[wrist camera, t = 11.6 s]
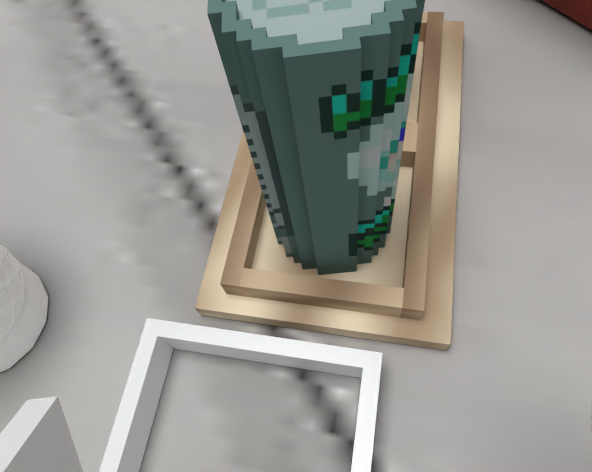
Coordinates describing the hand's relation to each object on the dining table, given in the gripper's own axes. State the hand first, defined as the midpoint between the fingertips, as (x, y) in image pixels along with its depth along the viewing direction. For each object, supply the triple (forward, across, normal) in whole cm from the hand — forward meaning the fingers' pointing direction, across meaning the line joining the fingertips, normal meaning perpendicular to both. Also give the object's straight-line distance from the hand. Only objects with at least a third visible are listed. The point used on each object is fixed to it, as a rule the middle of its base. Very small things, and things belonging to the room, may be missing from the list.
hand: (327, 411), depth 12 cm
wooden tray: (+20, +3, +2) cm, 21 cm away
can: (+16, +1, 0) cm, 16 cm away
